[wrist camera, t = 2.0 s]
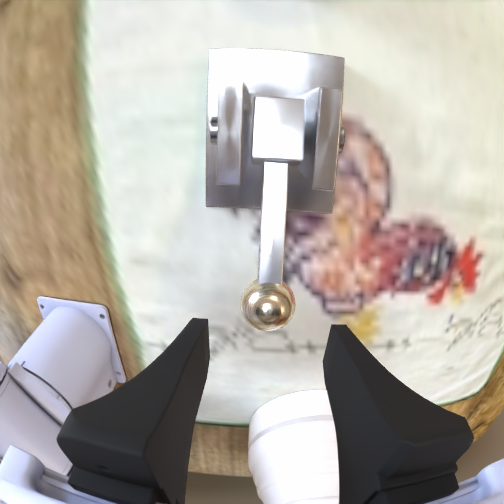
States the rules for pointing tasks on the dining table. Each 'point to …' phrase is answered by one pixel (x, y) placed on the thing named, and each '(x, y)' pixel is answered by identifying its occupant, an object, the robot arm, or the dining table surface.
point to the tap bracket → (241, 124)
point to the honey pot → (295, 450)
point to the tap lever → (273, 207)
